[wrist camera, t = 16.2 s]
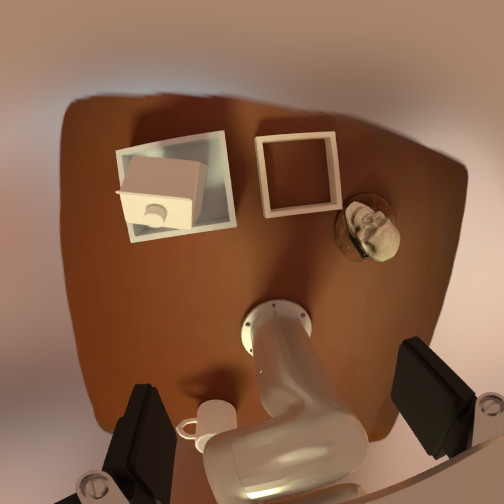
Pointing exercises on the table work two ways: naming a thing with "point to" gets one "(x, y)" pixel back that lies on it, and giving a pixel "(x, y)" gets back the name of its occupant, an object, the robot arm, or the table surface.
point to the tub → (216, 188)
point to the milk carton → (163, 192)
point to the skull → (367, 229)
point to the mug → (210, 422)
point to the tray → (332, 173)
